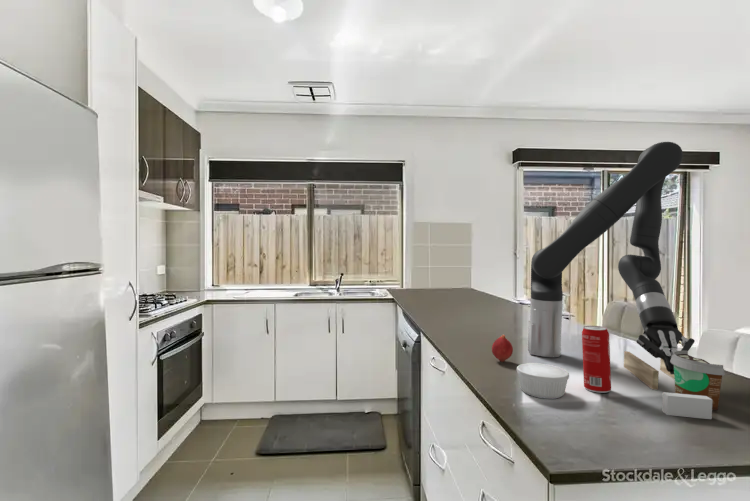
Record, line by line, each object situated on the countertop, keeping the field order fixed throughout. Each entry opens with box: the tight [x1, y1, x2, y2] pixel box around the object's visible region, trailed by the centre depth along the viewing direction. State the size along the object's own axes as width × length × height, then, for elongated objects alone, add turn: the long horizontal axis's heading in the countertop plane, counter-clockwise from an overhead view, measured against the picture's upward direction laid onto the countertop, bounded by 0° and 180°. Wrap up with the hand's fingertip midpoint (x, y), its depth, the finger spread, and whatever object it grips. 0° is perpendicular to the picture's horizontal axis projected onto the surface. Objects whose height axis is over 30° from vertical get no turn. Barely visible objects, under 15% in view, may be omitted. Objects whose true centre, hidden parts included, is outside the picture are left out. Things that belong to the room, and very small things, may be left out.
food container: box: [670, 350, 725, 411], centre depth 92 cm, size 12×6×10 cm, turn 174°
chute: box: [623, 350, 675, 391], centre depth 106 cm, size 10×18×4 cm, turn 168°
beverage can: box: [581, 325, 612, 394], centre depth 97 cm, size 6×6×15 cm
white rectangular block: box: [661, 391, 713, 420], centre depth 84 cm, size 8×2×4 cm, turn 78°
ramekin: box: [516, 362, 570, 400], centre depth 95 cm, size 11×11×5 cm
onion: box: [491, 334, 514, 363], centre depth 118 cm, size 6×6×8 cm
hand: (676, 372), depth 97 cm, fingers closed
